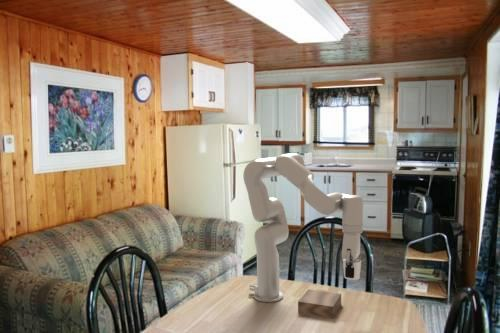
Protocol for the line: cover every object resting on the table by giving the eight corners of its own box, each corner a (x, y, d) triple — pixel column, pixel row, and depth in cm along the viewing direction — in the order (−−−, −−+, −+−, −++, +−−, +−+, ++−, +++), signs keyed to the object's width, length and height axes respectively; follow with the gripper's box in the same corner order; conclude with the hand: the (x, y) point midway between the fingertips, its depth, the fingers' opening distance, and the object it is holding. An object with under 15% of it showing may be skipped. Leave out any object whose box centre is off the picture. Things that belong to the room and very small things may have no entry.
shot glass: (361, 281, 166) (361, 262, 165) (342, 280, 168) (342, 261, 167) (360, 275, 173) (361, 257, 172) (342, 274, 174) (342, 256, 174)
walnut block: (298, 313, 178) (297, 301, 177) (308, 300, 190) (308, 289, 190) (332, 319, 172) (332, 306, 172) (341, 305, 185) (341, 293, 184)
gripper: (347, 222, 178) (347, 266, 179) (336, 232, 162) (336, 280, 164) (367, 224, 174) (366, 269, 176) (357, 234, 159) (356, 283, 161)
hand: (351, 274), depth 170 cm, fingers closed on shot glass, 6 cm apart
